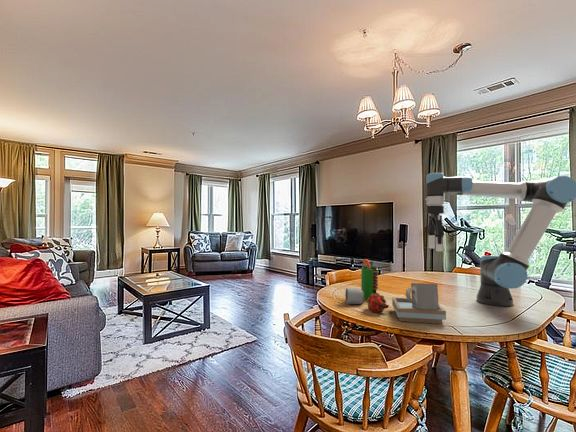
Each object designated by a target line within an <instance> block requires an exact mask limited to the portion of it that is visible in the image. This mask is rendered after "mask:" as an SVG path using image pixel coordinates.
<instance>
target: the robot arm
mask: <svg viewBox="0 0 576 432" xmlns="http://www.w3.org/2000/svg"><path fill="white" fill-rule="evenodd" d="M425 180H426V182H425V185H426V187H425V188H426V189H425V191H426V192H425V194H426V198H425V201H426V210H425V211H426V214H427V215H428V222H427V223H428V224H427V231H426V232H427V233H426V234H427V235H428V249H434V250H435V252H443V251H444V250H443V248H444V247H443V243H444V242H443V238H444V236H445V231H444V226H443V215H441V214H444V212H445V210H444V209H445V208H444V204H445V203H444V202H445V200H444V198H445V195H446V196H453V195H454V196H470V197H471V196H473V197H483V198H486V197H487V198H501V199H502V198H503V199H517V200H518V202H528V203H529V202H530V203H532V204H533V205H532V207H531V209H530V210H529V212H528V214H527V215H526V217H525V219H524V221H523V222H522V224H521V225H520V228H519V229H518V231H517V233H516V234H515V236H514V237H513V240H512V241H511V243H510V245H509V246H508V248H507V250H506V251H504V252H500V253H499V255H482V256H481V257H480V261H479V265H480V269H479V270H480V285H479V288H478V291H477V294H476V301H477V302H478V303H481V304H484V305H490V306H496V307H510V306H511V307H512V306H513V305H514V299H513V298H514V297H513V296H512V293H511V290H512V289H518V288H521V287H522V286H523V285H525V284H526V282H527V280H528V273H527V270H528V269H529V268H530V264H529V263H530V262H529V259H530V257H531V256H532V254H533V253H534V251H535V249H536V247H537V246H538V244H539V242H540V240H541V239H542V237H543V236H544V234H545V233H546V231H547V229H548V228H549V226H550V224H551V222H552V221H553V219H554V218H555V215H556V214H557V213H559V212H563V211H564V209H565V208H566V207H567V205H568V203H571V202H572V201H574V200H575V199H576V180H575V179H574V178H573V177H570V176H568V175H553V176H551V177H548V178H547V177H546V178H542V179H537V180H530V181H529V180H528V181H526V180H525V181H524V180H522V181H520V182H506V181H505V182H503V181H485V180H484V181H483V180H473V178H472V177H471V176H464V175H463V176H445V175H444V173H443V172H430V173H428V174H427V175H426V179H425Z"/></svg>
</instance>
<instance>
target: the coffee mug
mask: <svg viewBox="0 0 576 432" xmlns="http://www.w3.org/2000/svg"><path fill="white" fill-rule="evenodd" d="M438 290H439V289H438V283H419V282H415V283H414V282H411V283H410V287H408V288H406V291H405V298H407V300H408V301H409V302H411V303H412V308H415V309H426V310H439V304H440V303H439V291H438ZM411 298H412V299H411ZM438 303H439V304H438Z"/></svg>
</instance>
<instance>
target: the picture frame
mask: <svg viewBox="0 0 576 432" xmlns="http://www.w3.org/2000/svg"><path fill="white" fill-rule="evenodd" d="M391 298H392V299H391V300H392V302H391V304H392V305H391V306H392V307H393V310H394V312H395V314H396V316H397V317H398V321H400V322H410V323H411V322H412V323H428V324H429V323H430V324H443V321H446V320H447V310H446V309H445V308H444V307H443V306H441V304H440V303H439V302H438V304H439V310H426V309H415V308H412V303H411V302H409V301H408V300H407V298H406V297H391ZM411 299H412V297H411Z"/></svg>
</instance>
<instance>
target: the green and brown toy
mask: <svg viewBox="0 0 576 432" xmlns="http://www.w3.org/2000/svg"><path fill="white" fill-rule="evenodd" d="M362 264H363V265H364V264H365V265H367V266H362V267H361V278H360V281H361V282H360V284H361V285H360V286H361V287H360V288H361V290H363V293H364V300H366V301H367V300H368V297H369V296H370V295H371V294H373V293H377V290H378V289H379V287H378V285H379V270H377V269H378V268H377V266H371V264H370V260H369V259H363V260H362Z"/></svg>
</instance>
